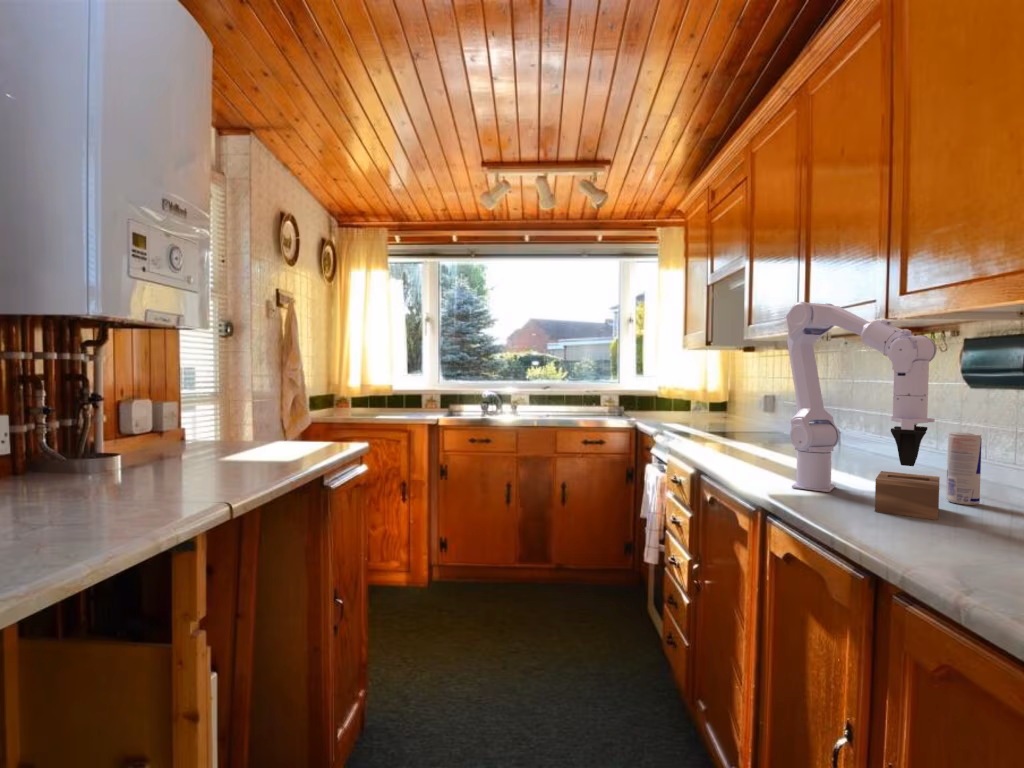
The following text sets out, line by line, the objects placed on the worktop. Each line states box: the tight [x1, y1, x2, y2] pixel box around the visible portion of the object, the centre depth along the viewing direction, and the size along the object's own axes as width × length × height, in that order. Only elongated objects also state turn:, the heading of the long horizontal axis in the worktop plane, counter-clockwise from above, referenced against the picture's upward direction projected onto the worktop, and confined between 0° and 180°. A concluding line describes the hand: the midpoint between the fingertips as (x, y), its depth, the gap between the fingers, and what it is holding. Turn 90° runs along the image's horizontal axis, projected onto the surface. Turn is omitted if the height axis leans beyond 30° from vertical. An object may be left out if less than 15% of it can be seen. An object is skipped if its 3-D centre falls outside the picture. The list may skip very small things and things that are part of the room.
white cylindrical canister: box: [945, 431, 982, 506], centre depth 122 cm, size 6×6×15 cm
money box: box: [874, 470, 941, 521], centre depth 114 cm, size 12×10×6 cm
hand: (908, 463), depth 114 cm, fingers open, 7 cm apart
